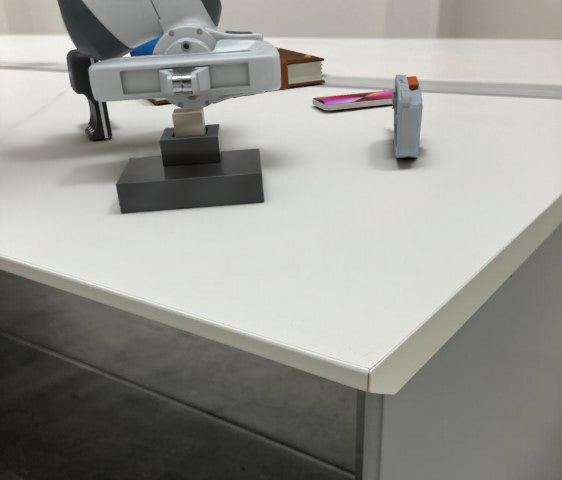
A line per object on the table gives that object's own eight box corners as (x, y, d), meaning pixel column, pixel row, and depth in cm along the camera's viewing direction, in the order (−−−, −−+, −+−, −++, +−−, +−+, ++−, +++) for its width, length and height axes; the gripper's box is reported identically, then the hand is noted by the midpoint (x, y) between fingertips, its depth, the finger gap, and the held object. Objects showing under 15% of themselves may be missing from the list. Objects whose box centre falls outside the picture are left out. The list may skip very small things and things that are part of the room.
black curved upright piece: (79, 134, 100) (62, 48, 94) (105, 130, 101) (89, 45, 95) (86, 143, 94) (67, 52, 88) (113, 139, 95) (97, 49, 90)
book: (325, 84, 124) (324, 54, 122) (156, 105, 116) (151, 74, 114) (282, 70, 143) (280, 44, 140) (133, 88, 135) (128, 60, 132)
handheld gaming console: (391, 138, 86) (392, 69, 82) (414, 137, 85) (417, 68, 81) (394, 169, 74) (396, 90, 69) (422, 168, 73) (425, 89, 69)
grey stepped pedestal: (121, 213, 66) (110, 156, 63) (135, 182, 76) (126, 130, 73) (264, 202, 66) (259, 144, 64) (261, 172, 76) (257, 120, 73)
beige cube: (175, 140, 69) (171, 114, 68) (177, 134, 72) (174, 108, 71) (204, 138, 69) (201, 111, 68) (205, 131, 72) (203, 106, 71)
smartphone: (418, 96, 104) (325, 105, 101) (418, 102, 104) (325, 112, 101) (399, 89, 110) (310, 98, 107) (398, 95, 110) (310, 104, 107)
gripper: (95, 43, 77) (69, 58, 65) (275, 31, 78) (281, 43, 66) (106, 102, 81) (83, 126, 69) (278, 90, 81) (285, 112, 69)
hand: (182, 85), depth 67 cm, fingers closed
